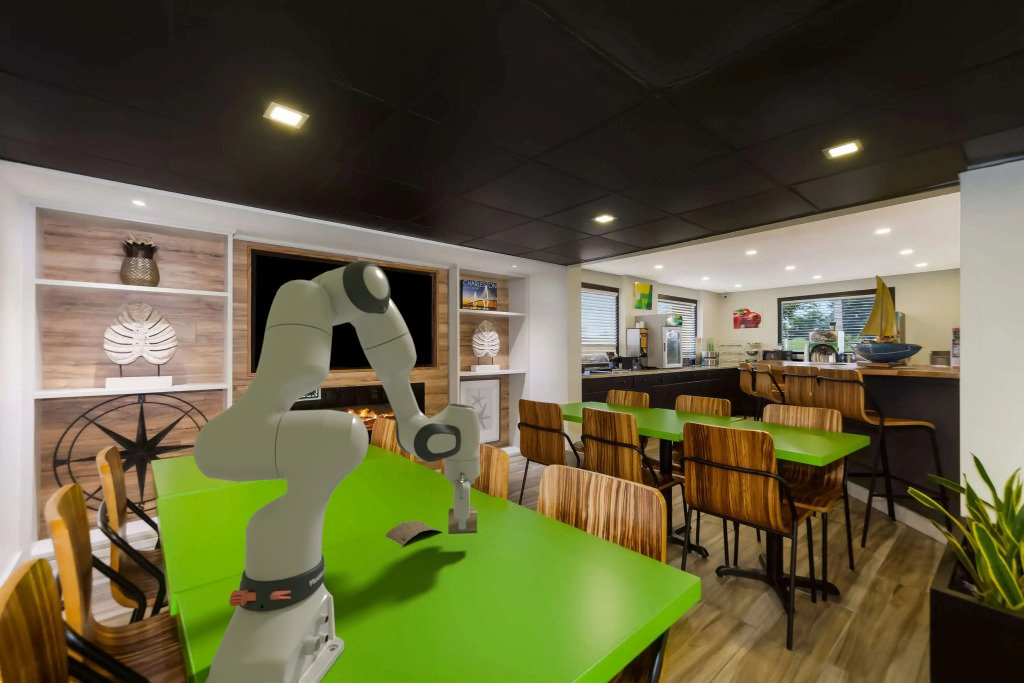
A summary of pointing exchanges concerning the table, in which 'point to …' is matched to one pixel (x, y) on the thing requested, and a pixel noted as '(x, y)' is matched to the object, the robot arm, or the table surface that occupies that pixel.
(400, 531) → the clay tablet
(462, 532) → the block
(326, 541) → the table surface
